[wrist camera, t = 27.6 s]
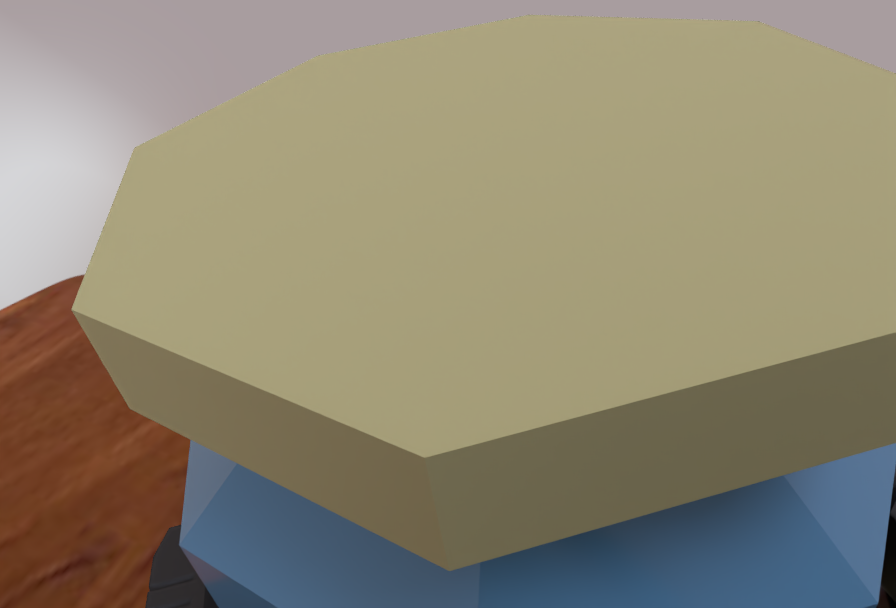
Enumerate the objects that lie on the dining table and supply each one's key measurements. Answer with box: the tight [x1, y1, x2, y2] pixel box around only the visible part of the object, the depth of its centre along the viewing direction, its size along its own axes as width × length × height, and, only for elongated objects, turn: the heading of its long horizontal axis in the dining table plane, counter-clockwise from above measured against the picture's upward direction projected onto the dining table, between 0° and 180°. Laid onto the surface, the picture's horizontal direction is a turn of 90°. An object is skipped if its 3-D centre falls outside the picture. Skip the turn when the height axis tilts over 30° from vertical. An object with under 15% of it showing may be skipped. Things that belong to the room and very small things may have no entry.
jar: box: [71, 15, 896, 608], centre depth 11 cm, size 9×9×15 cm
